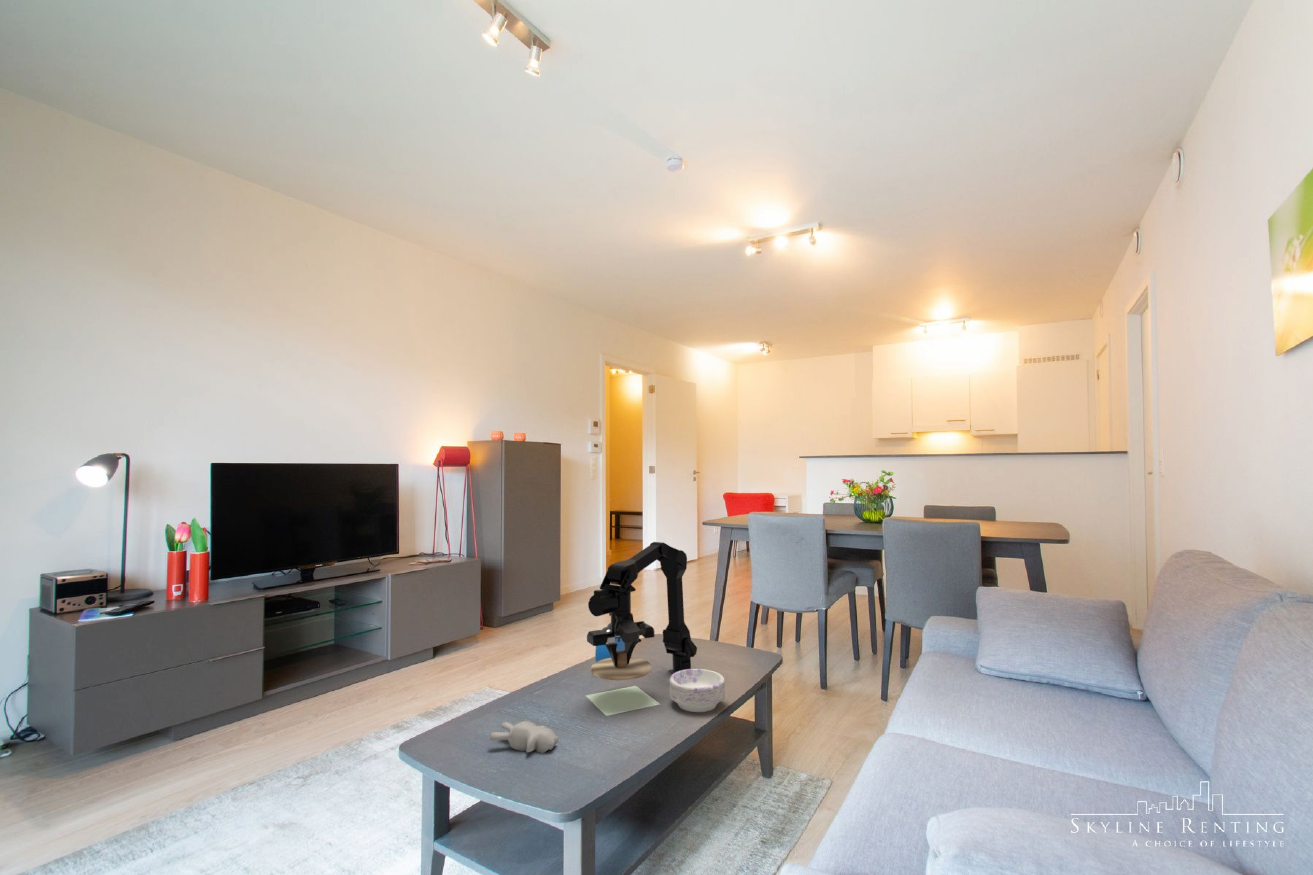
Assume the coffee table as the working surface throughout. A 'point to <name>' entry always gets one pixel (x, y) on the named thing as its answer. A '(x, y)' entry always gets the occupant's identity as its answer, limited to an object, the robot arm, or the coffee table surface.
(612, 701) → the mat
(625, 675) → the lid
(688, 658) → the robot arm
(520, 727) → the bunny figurine
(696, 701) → the white and purple bowl
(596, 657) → the alarm clock
